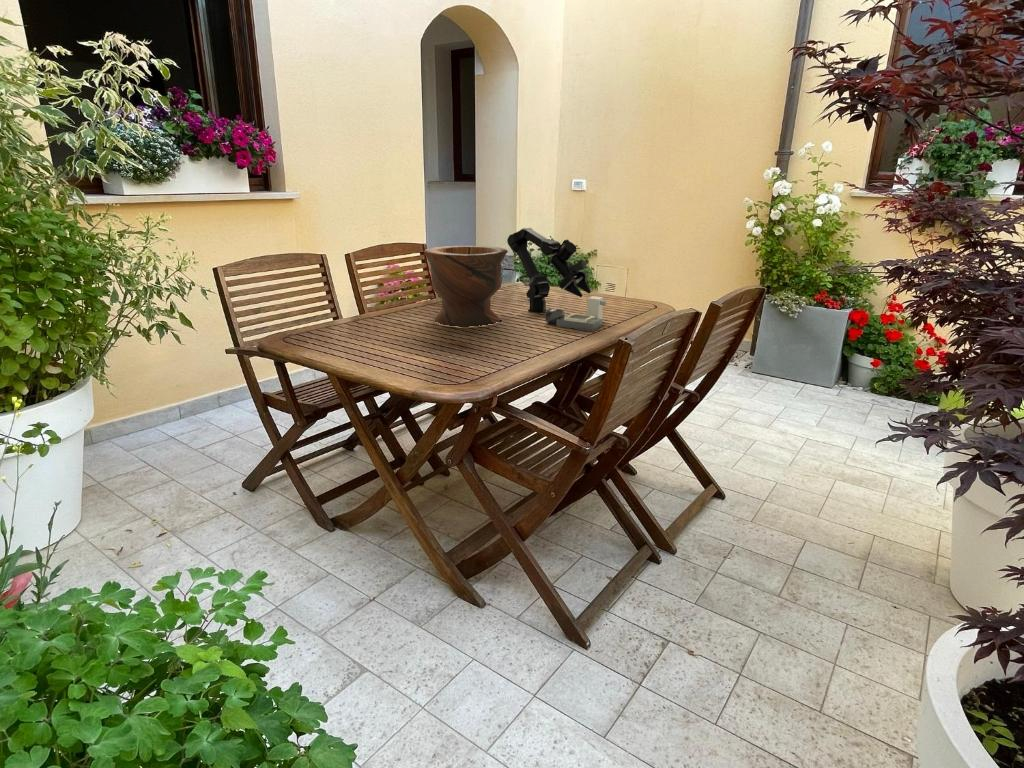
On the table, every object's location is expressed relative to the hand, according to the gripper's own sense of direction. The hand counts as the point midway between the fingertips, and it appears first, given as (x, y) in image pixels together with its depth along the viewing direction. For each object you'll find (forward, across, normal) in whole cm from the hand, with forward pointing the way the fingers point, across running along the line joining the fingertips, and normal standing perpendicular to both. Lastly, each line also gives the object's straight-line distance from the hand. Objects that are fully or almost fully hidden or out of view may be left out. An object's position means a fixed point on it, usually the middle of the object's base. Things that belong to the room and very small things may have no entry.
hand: (585, 294), depth 257 cm
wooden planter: (-23, -25, +39) cm, 52 cm away
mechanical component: (-21, +31, +37) cm, 52 cm away
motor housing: (+7, -12, +8) cm, 16 cm away
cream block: (+11, 0, +5) cm, 12 cm away
